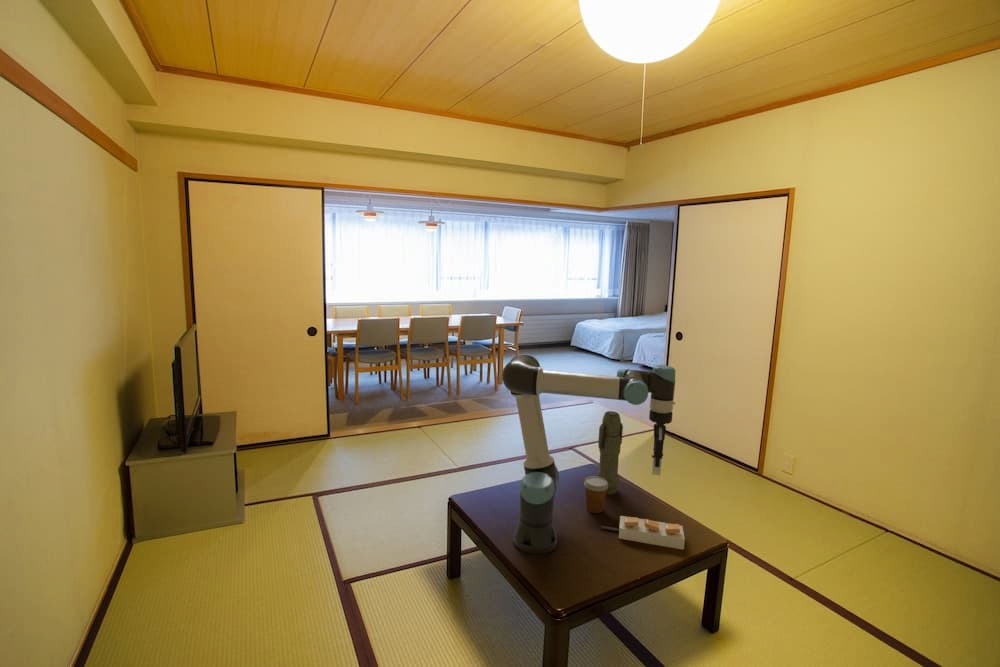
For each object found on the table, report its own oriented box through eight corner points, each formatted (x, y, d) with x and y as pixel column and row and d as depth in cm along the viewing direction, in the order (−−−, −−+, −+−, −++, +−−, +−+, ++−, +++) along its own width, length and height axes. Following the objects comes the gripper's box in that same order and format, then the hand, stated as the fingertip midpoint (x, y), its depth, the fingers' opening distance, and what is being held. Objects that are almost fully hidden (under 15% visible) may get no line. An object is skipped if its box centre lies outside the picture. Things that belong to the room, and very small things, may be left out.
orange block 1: (624, 526, 170) (624, 522, 170) (624, 521, 173) (624, 517, 173) (638, 525, 169) (637, 521, 168) (638, 520, 172) (637, 517, 172)
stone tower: (624, 490, 206) (629, 413, 201) (605, 497, 200) (610, 418, 195) (608, 482, 214) (613, 408, 208) (590, 489, 207) (594, 412, 202)
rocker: (665, 533, 166) (665, 529, 166) (665, 527, 169) (664, 524, 169) (680, 532, 165) (679, 528, 165) (679, 527, 168) (678, 523, 168)
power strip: (600, 535, 172) (601, 523, 171) (602, 522, 180) (602, 511, 180) (683, 549, 164) (684, 537, 163) (681, 535, 173) (682, 524, 172)
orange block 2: (644, 526, 168) (645, 523, 168) (644, 521, 171) (645, 518, 171) (657, 531, 167) (659, 528, 167) (657, 526, 170) (658, 523, 170)
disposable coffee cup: (605, 504, 194) (606, 476, 192) (608, 516, 185) (610, 487, 183) (581, 502, 195) (583, 475, 193) (583, 514, 186) (585, 485, 184)
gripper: (674, 416, 157) (668, 483, 160) (671, 405, 169) (666, 468, 172) (650, 414, 159) (645, 480, 162) (649, 403, 171) (644, 465, 174)
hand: (656, 474), depth 167 cm, fingers closed
